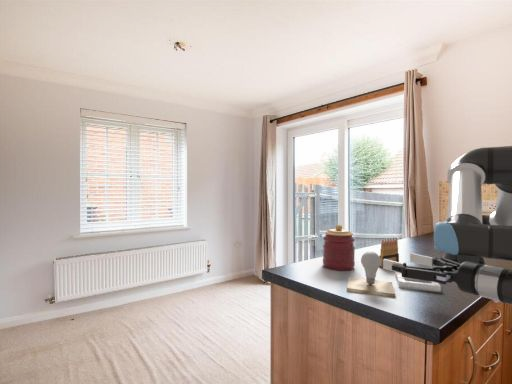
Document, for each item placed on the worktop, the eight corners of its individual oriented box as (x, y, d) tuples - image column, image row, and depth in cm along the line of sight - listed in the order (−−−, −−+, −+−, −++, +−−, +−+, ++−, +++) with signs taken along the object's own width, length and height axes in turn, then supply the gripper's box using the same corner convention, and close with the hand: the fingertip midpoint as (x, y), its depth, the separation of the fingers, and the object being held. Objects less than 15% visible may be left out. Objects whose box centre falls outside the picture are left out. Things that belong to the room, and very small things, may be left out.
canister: (360, 266, 122) (360, 224, 122) (346, 273, 112) (346, 227, 112) (331, 261, 131) (332, 222, 131) (316, 266, 121) (317, 224, 121)
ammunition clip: (382, 268, 120) (383, 239, 119) (378, 267, 121) (379, 238, 121) (399, 265, 125) (399, 237, 125) (395, 264, 126) (395, 236, 126)
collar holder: (432, 281, 103) (432, 275, 103) (440, 292, 92) (440, 286, 92) (395, 277, 108) (395, 271, 108) (398, 287, 96) (399, 281, 96)
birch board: (391, 284, 99) (391, 282, 99) (395, 297, 88) (395, 293, 88) (348, 280, 104) (348, 277, 104) (346, 291, 93) (346, 287, 93)
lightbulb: (357, 281, 99) (358, 249, 99) (374, 281, 99) (375, 249, 99) (365, 288, 93) (366, 253, 93) (384, 287, 93) (384, 253, 93)
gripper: (455, 307, 63) (370, 279, 81) (502, 286, 76) (420, 266, 94) (455, 272, 63) (371, 253, 81) (503, 257, 76) (421, 243, 94)
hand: (397, 260), depth 87 cm, fingers open, 13 cm apart
